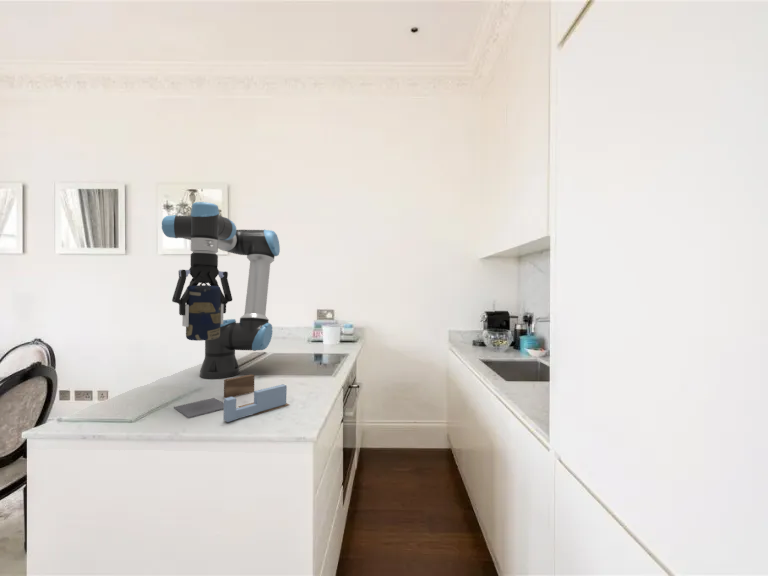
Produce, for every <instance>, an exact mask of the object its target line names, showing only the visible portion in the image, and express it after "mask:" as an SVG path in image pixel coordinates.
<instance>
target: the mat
mask: <svg viewBox="0 0 768 576" xmlns="http://www.w3.org/2000/svg"><path fill="white" fill-rule="evenodd" d="M173 409H175V410H176V411H177V412H179V413H180V414H182V415H183V416H184V417H186V418H187V419H191V418H195V417H200V416H204V415H206V414H210V413H214V412H218V411H224V401H221V400H219V399H217V398H215V397H210V398H206V399H202V400H198V401H194V402H190V403H185V404H181V405H175V406H173Z"/></svg>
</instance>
